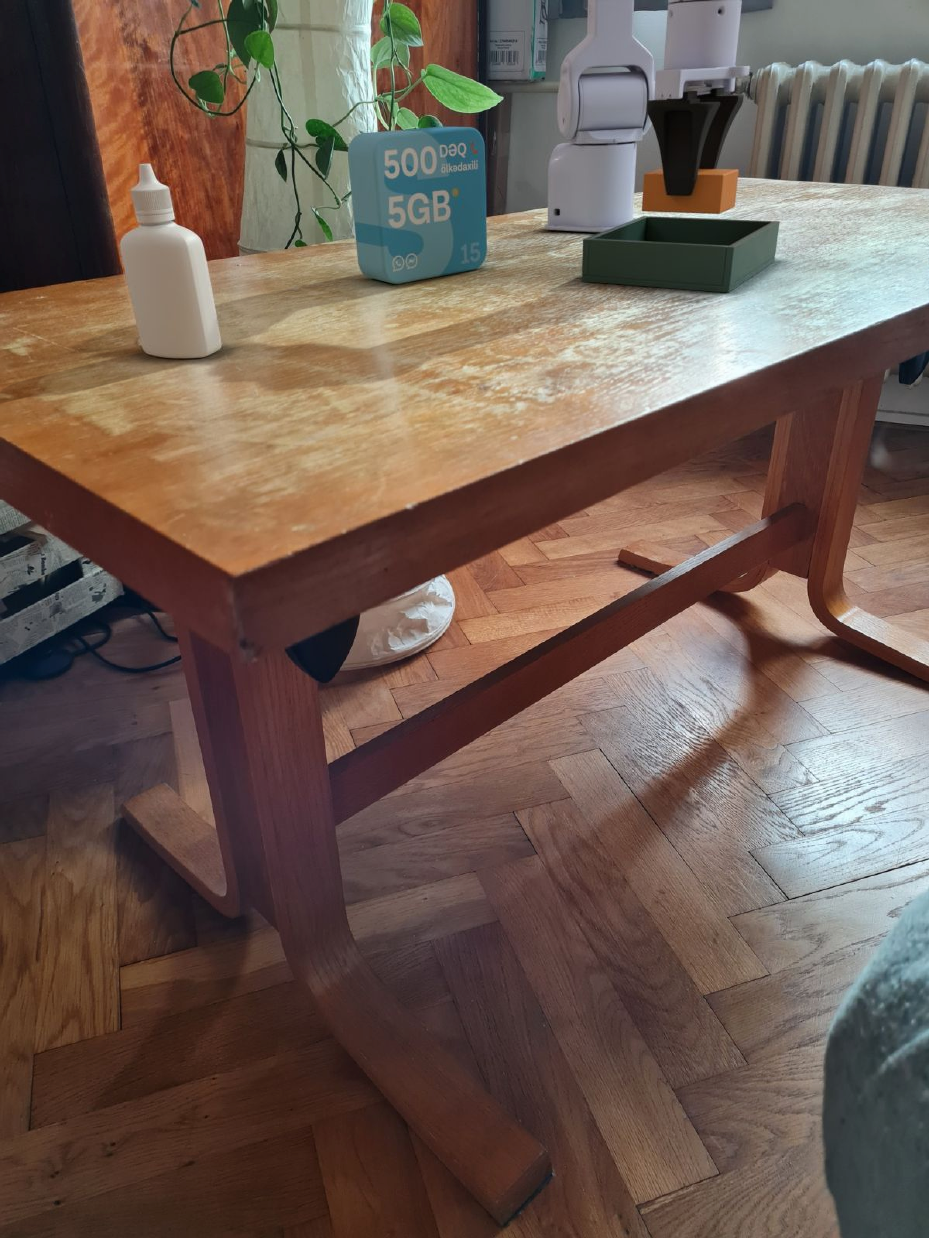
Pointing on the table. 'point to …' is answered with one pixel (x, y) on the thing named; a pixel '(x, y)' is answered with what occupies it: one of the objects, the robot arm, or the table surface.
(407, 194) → the data package
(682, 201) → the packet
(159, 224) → the eye dropper bottle
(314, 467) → the table surface
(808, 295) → the table surface
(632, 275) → the bin
